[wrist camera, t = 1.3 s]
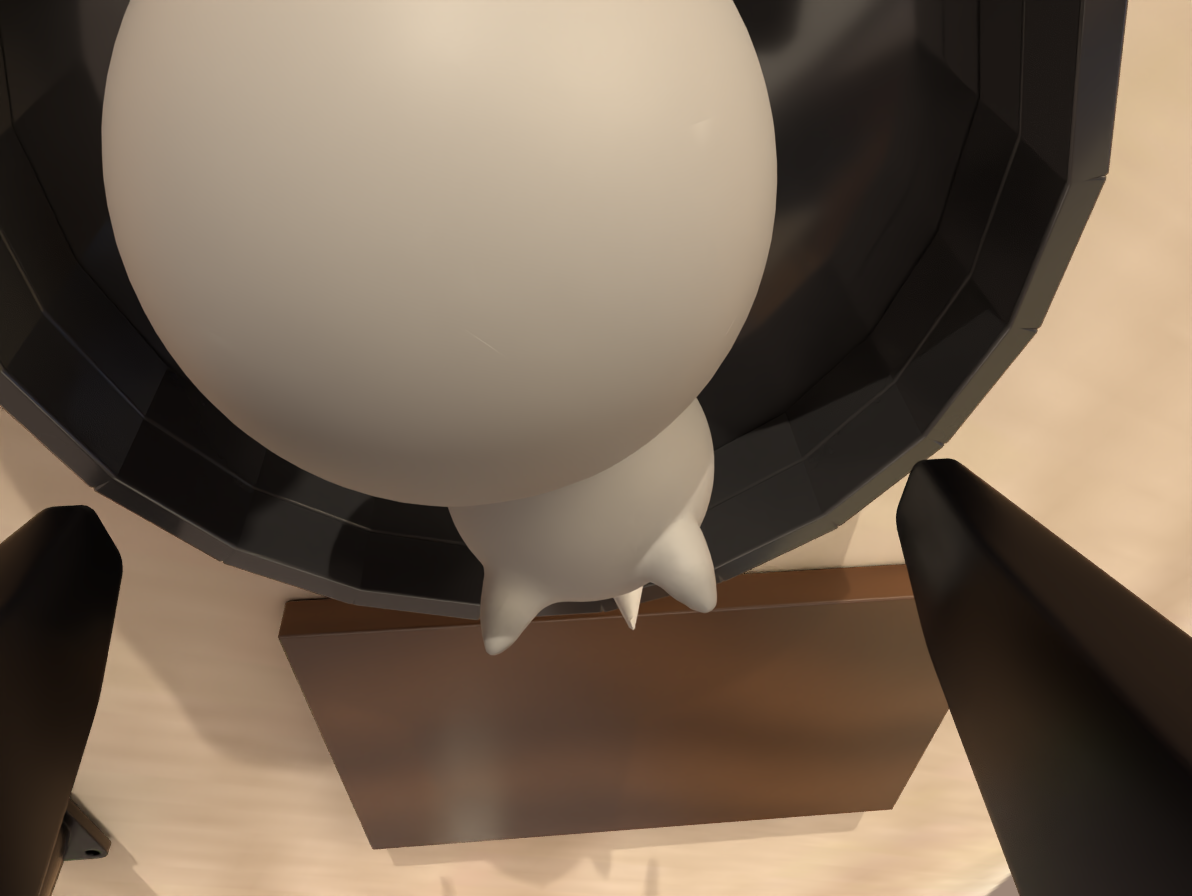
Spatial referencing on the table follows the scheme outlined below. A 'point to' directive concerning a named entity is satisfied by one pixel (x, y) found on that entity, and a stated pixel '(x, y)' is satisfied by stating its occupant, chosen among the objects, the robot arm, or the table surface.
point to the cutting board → (624, 710)
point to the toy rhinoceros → (459, 258)
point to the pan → (747, 374)
